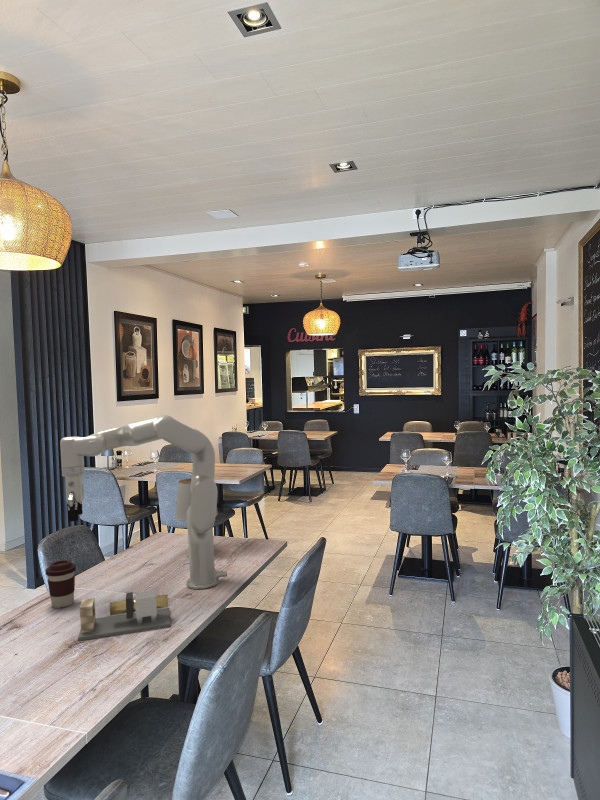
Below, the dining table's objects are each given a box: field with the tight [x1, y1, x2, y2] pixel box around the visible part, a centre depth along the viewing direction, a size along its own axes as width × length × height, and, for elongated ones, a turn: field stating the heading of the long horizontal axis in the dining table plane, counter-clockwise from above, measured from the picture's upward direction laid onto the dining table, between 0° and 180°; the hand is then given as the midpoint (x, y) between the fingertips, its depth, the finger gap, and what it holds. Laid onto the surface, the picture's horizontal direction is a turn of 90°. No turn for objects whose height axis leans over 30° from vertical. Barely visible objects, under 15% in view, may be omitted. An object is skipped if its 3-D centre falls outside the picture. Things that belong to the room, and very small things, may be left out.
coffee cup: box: [45, 559, 77, 609], centre depth 193 cm, size 10×10×15 cm
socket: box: [79, 597, 97, 633], centre depth 170 cm, size 4×7×8 cm, turn 15°
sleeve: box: [134, 589, 157, 624], centre depth 175 cm, size 6×6×8 cm
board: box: [77, 607, 171, 642], centre depth 174 cm, size 28×13×1 cm, turn 105°
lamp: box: [174, 477, 219, 522], centre depth 242 cm, size 19×19×34 cm
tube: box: [109, 591, 169, 619], centre depth 174 cm, size 18×5×6 cm, turn 105°
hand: (75, 517), depth 194 cm, fingers open, 9 cm apart
